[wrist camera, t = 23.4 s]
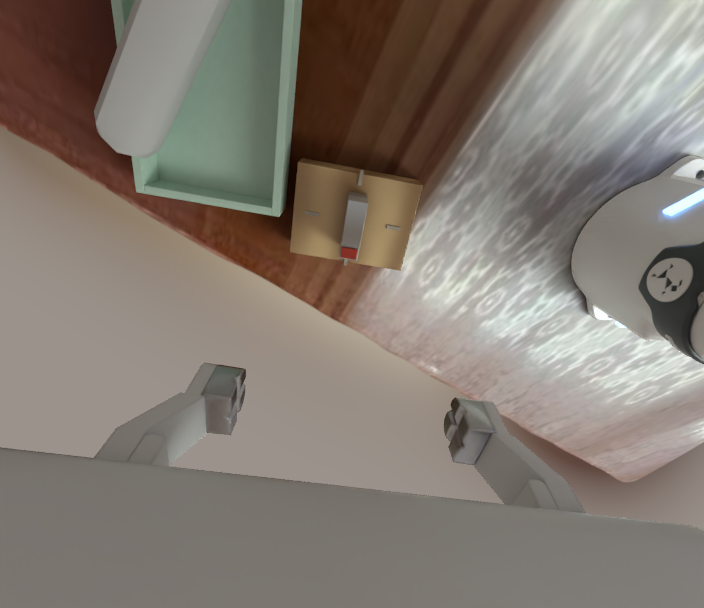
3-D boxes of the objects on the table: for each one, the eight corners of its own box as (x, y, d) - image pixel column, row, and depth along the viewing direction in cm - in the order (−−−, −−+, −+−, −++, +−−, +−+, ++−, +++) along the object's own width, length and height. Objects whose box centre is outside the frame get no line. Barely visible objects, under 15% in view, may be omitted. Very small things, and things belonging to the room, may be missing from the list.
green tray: (322, -243, 22) (316, -301, 19) (285, 208, 37) (279, 217, 34) (104, -305, 21) (60, -377, 18) (155, 185, 36) (135, 192, 32)
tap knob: (348, 191, 33) (348, 200, 29) (367, 194, 33) (368, 203, 30) (339, 245, 35) (338, 258, 32) (356, 247, 36) (357, 262, 32)
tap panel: (419, 176, 35) (424, 181, 32) (396, 263, 40) (399, 274, 37) (302, 154, 34) (297, 157, 31) (293, 245, 39) (288, 255, 36)
